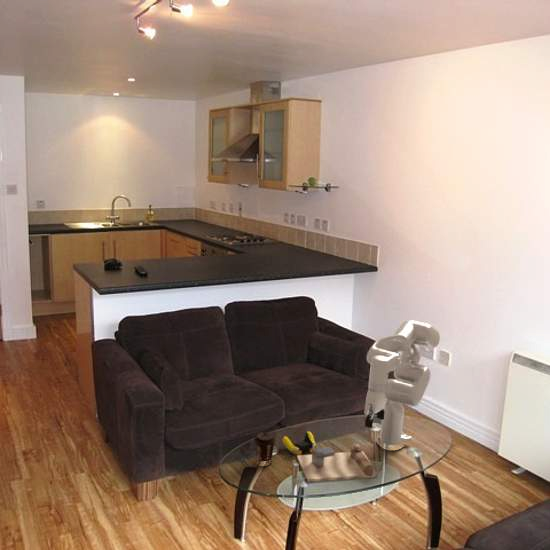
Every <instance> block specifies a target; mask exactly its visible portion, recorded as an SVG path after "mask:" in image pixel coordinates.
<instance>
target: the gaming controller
mask: <svg viewBox="0 0 550 550" xmlns="http://www.w3.org/2000/svg"><path fill="white" fill-rule="evenodd" d="M281 440H282V441H281V442H282V445H283V446H284V448H285V449H286V450H287V451H288V452H290V453H291V454H293V455H296V456H298V455H306V454H308V453H307V452H309V453H312V449H316V442H315V438H314V435H313V433H312V432H311V431H306V432H305V436H304V439H303V440H302V441H300V442H292V441H291V440H290V439H289V437H288V436H283V438H282V439H281Z"/></svg>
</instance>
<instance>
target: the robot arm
mask: <svg viewBox="0 0 550 550" xmlns="http://www.w3.org/2000/svg"><path fill="white" fill-rule="evenodd" d="M440 335H441V334H440V332H439V331H438V330H437V329H436V328H435V327H434V326H433V325H431V324H429V323H425V322H421V321H416V320H411V319H409V320H408V319H407V320H405V321H403V322H402V324H401V325H400V326H399V327H398V328H397V330H396V331H395V332H394V333H393V335H389V336H385V337H382V338H379V339H377V340H376V341H375V342H374V343H373V344H372V345H371V346H370V348H369V350H368V351H367V354H366V362H367V363H368V364H369V365H370V369H369V377H368V390H367V393H366V398H365V404H364V411H363V413H364V418H365V419H364V426H365V427H367V428H368V429H373V424H374V423H373V422H374V419H373V418H374V415H376V418H377V419H379V420H381V422H380V423H381V424H380V433H379V434H380V435H379V437H380V441H381V442H382V443H385V444H388V445H398V444H399V443H400V442H403V441H405V440H411V441H412V436H407V434H403V426H404V415H405V407H404V405H406V406H408V407H409V406H410V407H414V408H415V407H416V408H417V407H418V406H419V405H420V404H421V402H422V400H423V398H424V395H425V393H426V390H427V388H428V385H429V383H430V379H431V370H430V369H429V367H428V366H425V365H423V364H419V363H420V361H421V355H420V351H419V349H418V348H417V346H416V345H418V346H420V347H421V346H422V347H426V348H428V349H429V348H430V349H434V348H437V347H438V345H439V343H440V341H441V336H440ZM398 352H402V353H401V354H399V353H398ZM390 372H393V377H394V378H389V373H390ZM405 442H406V441H405Z"/></svg>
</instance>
